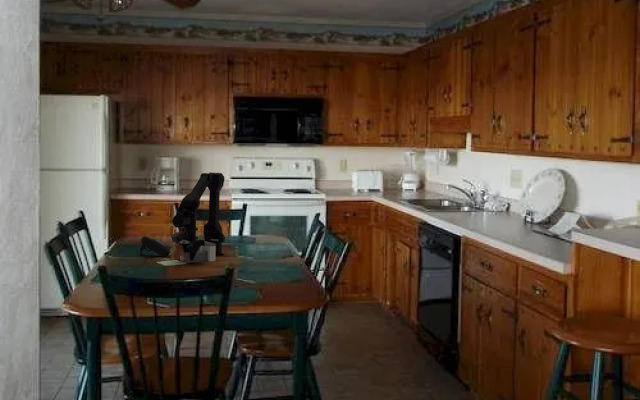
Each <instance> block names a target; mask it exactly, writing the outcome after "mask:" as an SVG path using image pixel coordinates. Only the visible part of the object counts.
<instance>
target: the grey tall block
mask: <svg viewBox="0 0 640 400" xmlns="http://www.w3.org/2000/svg"><path fill="white" fill-rule="evenodd" d="M179 261H181V262H184V263H186V264H188V263H199V262H209V261H208V251H200V250H198V251H197V253H196V255H195V257H194V259H193V260H190V252H187V253H184V252H181V255H180V256H179Z"/></svg>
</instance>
